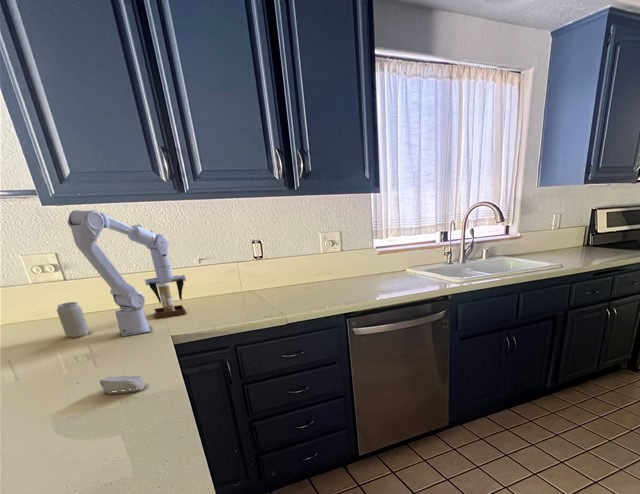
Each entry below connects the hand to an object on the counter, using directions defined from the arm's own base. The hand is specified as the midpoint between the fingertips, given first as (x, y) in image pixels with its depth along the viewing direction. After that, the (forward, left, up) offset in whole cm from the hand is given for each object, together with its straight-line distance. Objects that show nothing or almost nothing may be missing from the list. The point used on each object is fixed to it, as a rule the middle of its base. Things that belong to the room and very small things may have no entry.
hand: (170, 300), depth 173 cm
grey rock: (-19, -66, -8) cm, 69 cm away
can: (-34, -1, -8) cm, 35 cm away
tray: (-1, +11, -8) cm, 14 cm away
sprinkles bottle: (-1, +11, -8) cm, 13 cm away
